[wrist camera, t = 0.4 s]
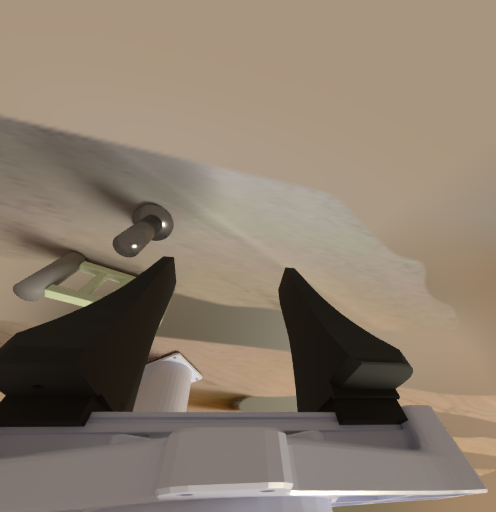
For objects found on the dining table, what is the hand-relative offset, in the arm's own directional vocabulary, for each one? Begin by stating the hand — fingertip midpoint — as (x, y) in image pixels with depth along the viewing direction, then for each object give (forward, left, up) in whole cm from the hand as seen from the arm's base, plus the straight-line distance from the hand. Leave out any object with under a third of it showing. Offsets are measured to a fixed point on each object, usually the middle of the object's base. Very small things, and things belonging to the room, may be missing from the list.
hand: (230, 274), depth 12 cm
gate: (-14, 0, -10) cm, 18 cm away
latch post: (-7, +4, -11) cm, 14 cm away
